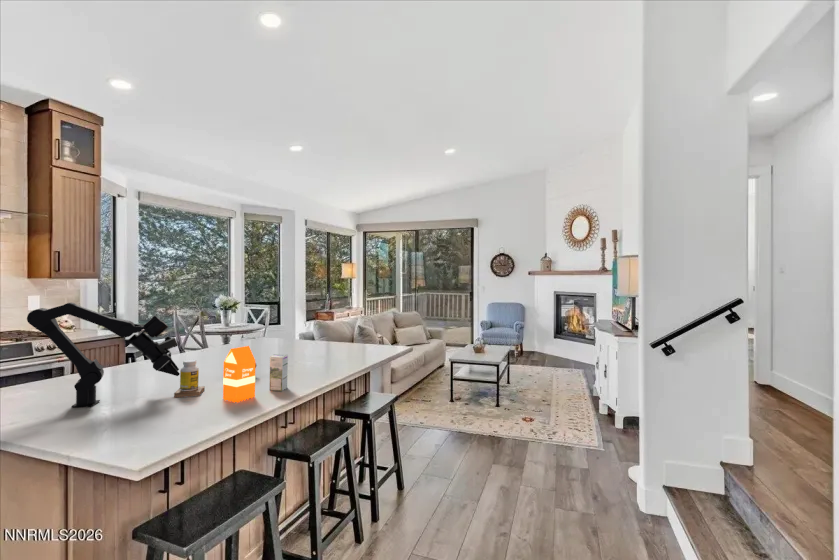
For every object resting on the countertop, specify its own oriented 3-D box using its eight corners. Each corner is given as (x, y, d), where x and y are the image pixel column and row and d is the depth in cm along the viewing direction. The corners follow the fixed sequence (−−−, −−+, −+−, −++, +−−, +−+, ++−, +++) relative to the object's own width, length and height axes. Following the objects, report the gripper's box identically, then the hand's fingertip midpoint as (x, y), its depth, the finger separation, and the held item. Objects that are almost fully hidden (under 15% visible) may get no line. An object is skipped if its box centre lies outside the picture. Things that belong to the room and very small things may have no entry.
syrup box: (287, 387, 185) (288, 354, 185) (282, 391, 179) (282, 356, 179) (275, 387, 185) (275, 353, 185) (268, 390, 179) (269, 356, 179)
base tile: (199, 395, 170) (199, 392, 170) (174, 397, 168) (174, 393, 168) (204, 389, 179) (204, 386, 179) (180, 391, 176) (180, 387, 176)
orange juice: (222, 399, 166) (223, 347, 166) (241, 394, 174) (242, 344, 173) (236, 402, 162) (237, 349, 162) (255, 397, 170) (256, 346, 170)
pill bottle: (186, 392, 169) (187, 363, 169) (176, 390, 172) (176, 361, 172) (201, 389, 175) (202, 360, 174) (191, 386, 178) (192, 358, 177)
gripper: (164, 334, 160) (196, 361, 166) (164, 328, 176) (193, 353, 182) (138, 356, 156) (172, 383, 162) (140, 348, 172) (171, 373, 178)
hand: (178, 372), depth 171 cm, fingers open, 9 cm apart
